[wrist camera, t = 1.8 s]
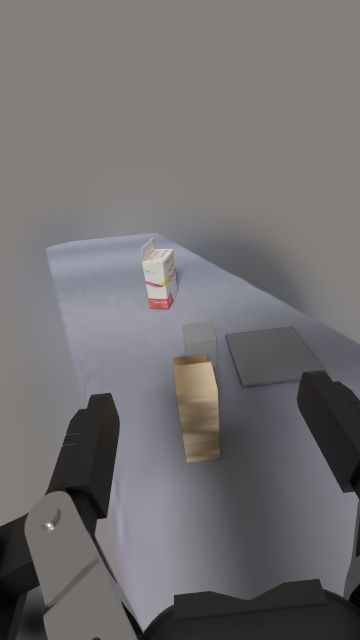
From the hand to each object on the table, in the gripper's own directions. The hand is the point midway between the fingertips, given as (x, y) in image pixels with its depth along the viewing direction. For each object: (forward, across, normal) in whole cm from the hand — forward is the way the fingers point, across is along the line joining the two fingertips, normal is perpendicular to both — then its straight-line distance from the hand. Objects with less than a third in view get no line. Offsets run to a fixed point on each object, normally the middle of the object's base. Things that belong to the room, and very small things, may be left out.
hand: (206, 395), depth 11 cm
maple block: (+12, 0, +23) cm, 26 cm away
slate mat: (+27, -14, +23) cm, 38 cm away
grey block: (+28, -2, +23) cm, 36 cm away
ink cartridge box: (+51, +4, +23) cm, 56 cm away
